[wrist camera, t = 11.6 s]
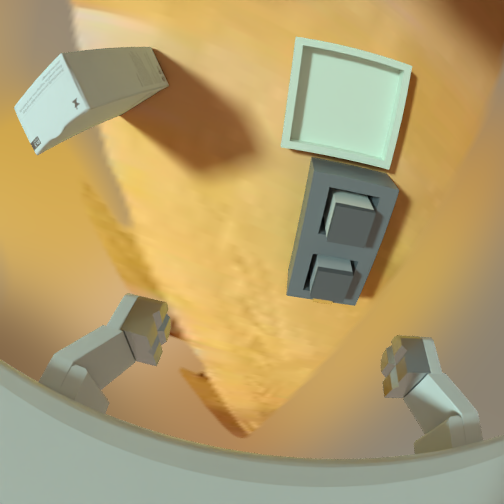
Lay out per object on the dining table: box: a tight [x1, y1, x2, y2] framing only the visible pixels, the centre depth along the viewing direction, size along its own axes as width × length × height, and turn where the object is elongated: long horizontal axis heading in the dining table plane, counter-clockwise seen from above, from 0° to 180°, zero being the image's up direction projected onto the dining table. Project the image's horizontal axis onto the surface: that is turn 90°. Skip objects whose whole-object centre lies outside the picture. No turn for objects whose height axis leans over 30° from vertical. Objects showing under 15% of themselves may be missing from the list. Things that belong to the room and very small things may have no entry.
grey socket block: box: [286, 157, 399, 305], centre depth 33 cm, size 16×9×6 cm, turn 174°
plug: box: [323, 187, 376, 248], centre depth 30 cm, size 4×4×6 cm
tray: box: [281, 37, 412, 170], centre depth 26 cm, size 12×12×2 cm
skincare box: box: [14, 47, 169, 155], centre depth 22 cm, size 8×6×15 cm
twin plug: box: [309, 254, 353, 303], centre depth 34 cm, size 4×4×6 cm
